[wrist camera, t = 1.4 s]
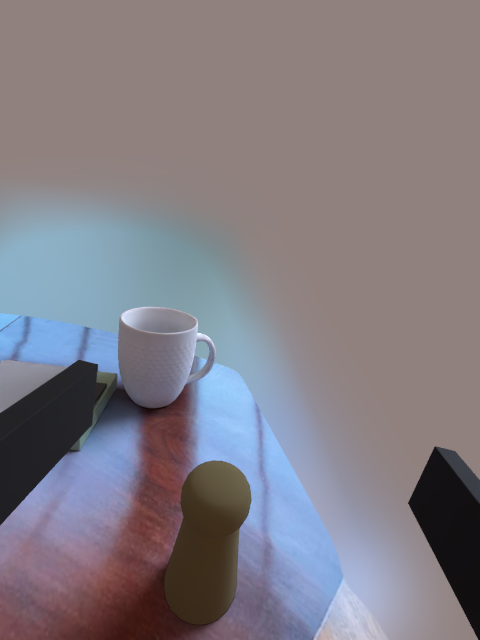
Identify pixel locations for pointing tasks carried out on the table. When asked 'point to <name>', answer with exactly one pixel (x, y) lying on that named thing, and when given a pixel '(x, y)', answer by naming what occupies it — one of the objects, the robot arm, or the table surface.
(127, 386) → the mug
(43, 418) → the robot arm
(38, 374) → the scale
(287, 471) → the table surface
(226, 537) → the olive pawn piece
